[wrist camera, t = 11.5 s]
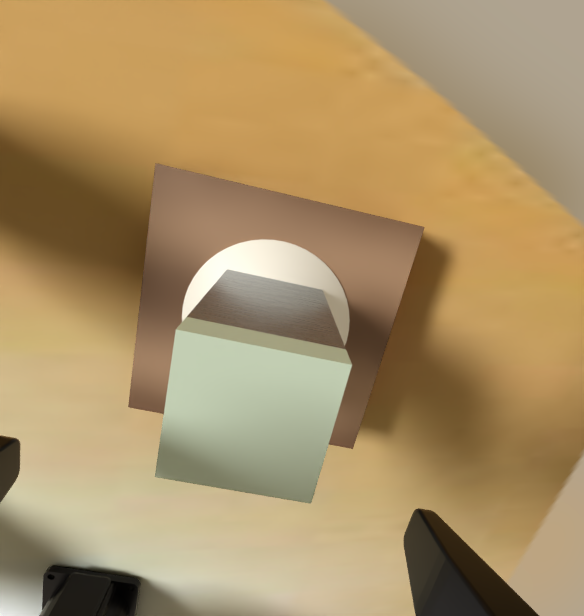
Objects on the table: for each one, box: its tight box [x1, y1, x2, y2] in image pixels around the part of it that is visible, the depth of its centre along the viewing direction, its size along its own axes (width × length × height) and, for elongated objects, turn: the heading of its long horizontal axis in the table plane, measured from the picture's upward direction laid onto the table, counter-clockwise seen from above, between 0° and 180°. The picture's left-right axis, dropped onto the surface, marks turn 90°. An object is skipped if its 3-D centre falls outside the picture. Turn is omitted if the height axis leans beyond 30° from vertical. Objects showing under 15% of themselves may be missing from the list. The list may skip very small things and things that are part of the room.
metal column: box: [155, 269, 352, 503], centre depth 14 cm, size 4×4×8 cm
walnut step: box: [128, 164, 424, 449], centre depth 19 cm, size 12×12×3 cm
